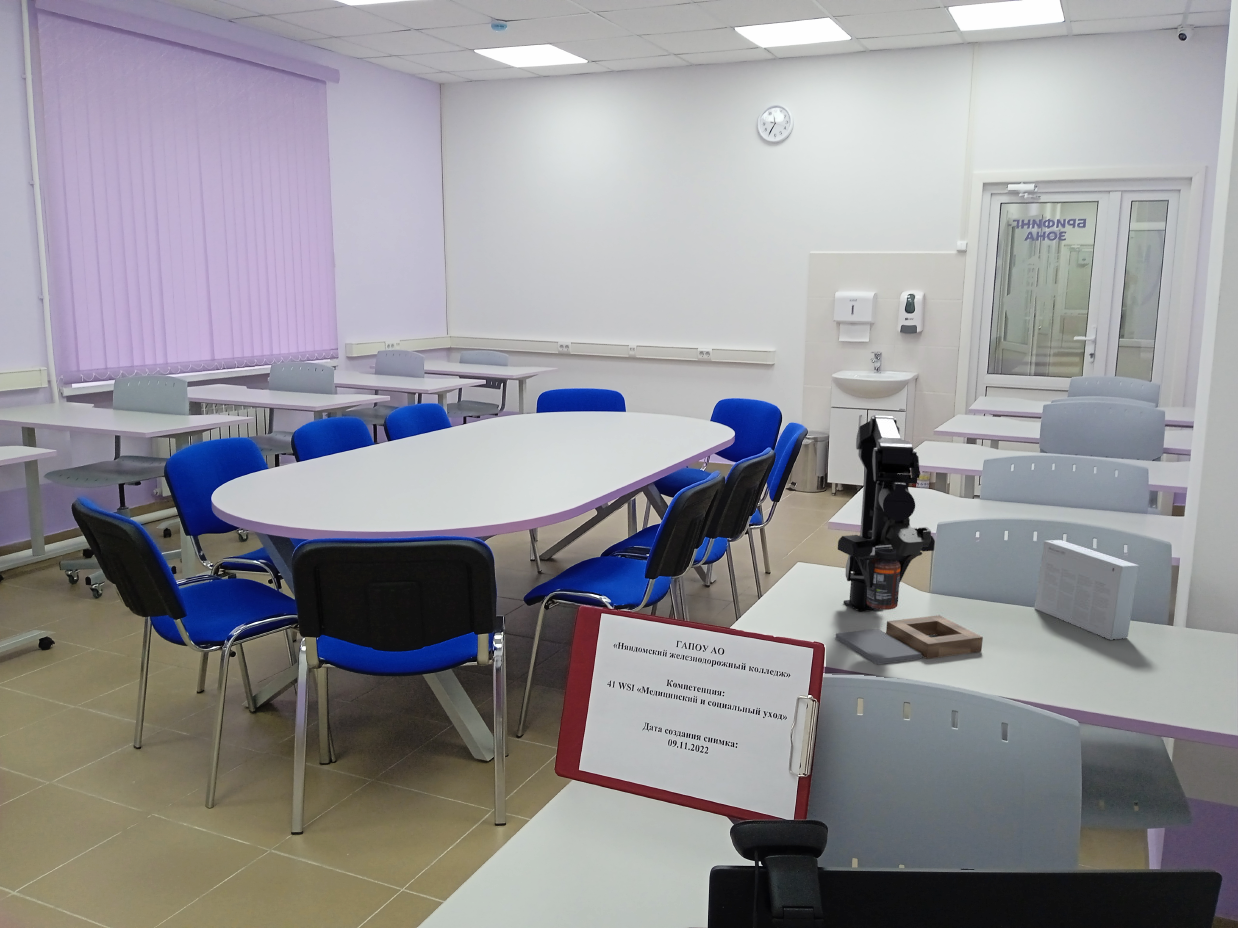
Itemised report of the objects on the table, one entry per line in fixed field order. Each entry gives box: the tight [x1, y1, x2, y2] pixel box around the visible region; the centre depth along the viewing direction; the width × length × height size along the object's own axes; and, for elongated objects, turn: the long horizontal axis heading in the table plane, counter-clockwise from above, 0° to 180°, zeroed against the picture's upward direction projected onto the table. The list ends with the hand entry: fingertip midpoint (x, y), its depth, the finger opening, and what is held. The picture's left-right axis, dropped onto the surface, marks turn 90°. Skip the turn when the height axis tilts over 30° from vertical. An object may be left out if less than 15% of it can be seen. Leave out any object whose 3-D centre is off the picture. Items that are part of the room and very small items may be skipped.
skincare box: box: [1034, 539, 1140, 641], centre depth 209 cm, size 21×5×16 cm, turn 22°
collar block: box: [885, 614, 984, 660], centre depth 196 cm, size 13×13×3 cm
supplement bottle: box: [867, 548, 901, 611], centre depth 190 cm, size 6×6×11 cm
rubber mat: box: [835, 628, 922, 665], centre depth 192 cm, size 14×10×1 cm
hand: (883, 585), depth 190 cm, fingers closed on supplement bottle, 6 cm apart
